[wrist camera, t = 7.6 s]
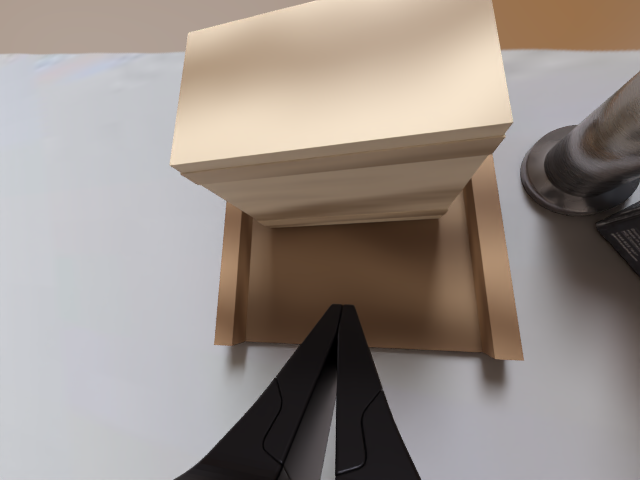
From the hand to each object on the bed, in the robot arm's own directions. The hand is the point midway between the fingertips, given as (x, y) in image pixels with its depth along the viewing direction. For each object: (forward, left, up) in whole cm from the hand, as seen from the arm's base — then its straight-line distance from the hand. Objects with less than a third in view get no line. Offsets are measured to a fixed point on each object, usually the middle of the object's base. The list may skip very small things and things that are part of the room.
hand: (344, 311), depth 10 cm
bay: (+5, 0, -7) cm, 9 cm away
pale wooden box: (+8, 0, -7) cm, 11 cm away
